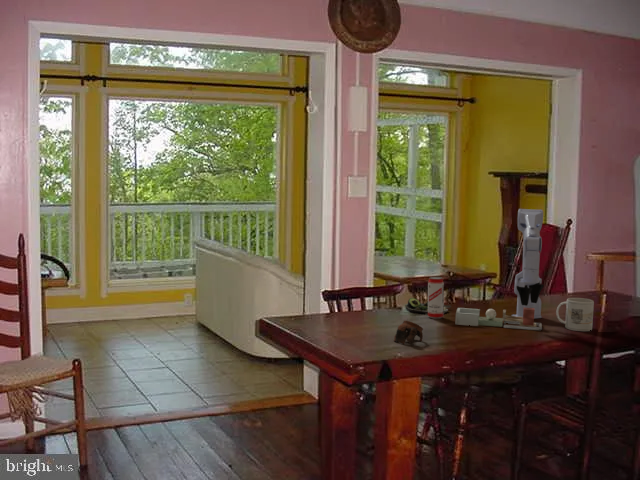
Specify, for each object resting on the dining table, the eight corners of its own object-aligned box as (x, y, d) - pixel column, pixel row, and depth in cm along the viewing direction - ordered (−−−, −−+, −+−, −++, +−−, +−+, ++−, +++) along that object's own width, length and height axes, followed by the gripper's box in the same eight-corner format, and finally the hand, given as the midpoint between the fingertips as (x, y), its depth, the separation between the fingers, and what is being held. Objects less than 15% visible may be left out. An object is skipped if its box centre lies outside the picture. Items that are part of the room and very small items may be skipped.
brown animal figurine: (388, 340, 267) (397, 319, 269) (411, 352, 268) (421, 331, 270) (399, 339, 255) (409, 317, 257) (423, 352, 257) (433, 329, 259)
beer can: (443, 319, 303) (443, 279, 301) (427, 318, 304) (427, 278, 303) (444, 316, 309) (444, 276, 307) (428, 315, 310) (428, 276, 309)
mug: (577, 332, 286) (579, 303, 285) (553, 326, 296) (555, 297, 295) (597, 330, 291) (599, 301, 290) (573, 323, 301) (575, 296, 300)
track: (541, 325, 296) (541, 320, 296) (541, 330, 287) (542, 325, 287) (477, 320, 302) (478, 315, 302) (476, 325, 293) (476, 320, 293)
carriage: (535, 325, 295) (536, 307, 295) (536, 328, 289) (537, 310, 289) (502, 322, 298) (503, 305, 298) (502, 325, 292) (503, 308, 292)
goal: (479, 320, 303) (479, 309, 302) (477, 326, 292) (478, 314, 292) (457, 318, 305) (457, 307, 305) (455, 324, 294) (455, 312, 294)
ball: (490, 317, 299) (491, 307, 299) (498, 319, 296) (498, 309, 295) (483, 318, 297) (483, 308, 297) (490, 320, 294) (491, 310, 293)
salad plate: (445, 306, 333) (445, 296, 332) (457, 315, 315) (458, 303, 315) (401, 306, 330) (401, 296, 330) (411, 315, 312) (412, 303, 312)
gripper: (530, 265, 299) (528, 300, 300) (512, 269, 288) (510, 304, 289) (547, 267, 294) (545, 302, 296) (529, 271, 283) (527, 307, 285)
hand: (529, 304), depth 292 cm, fingers open, 7 cm apart
